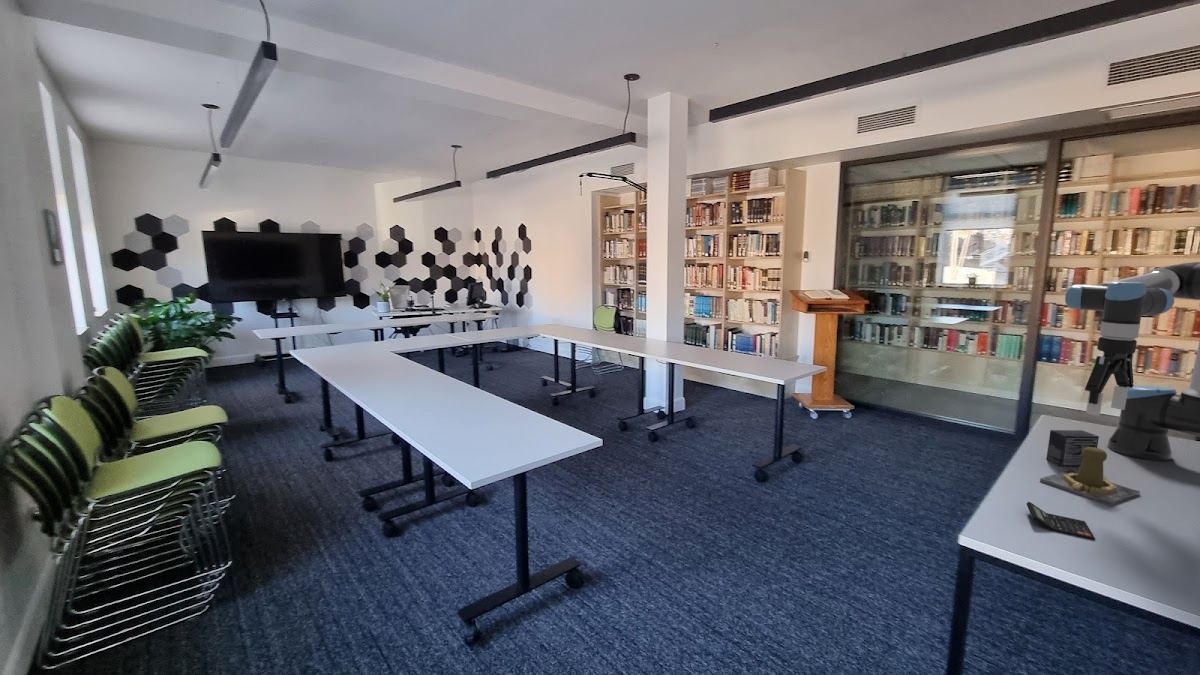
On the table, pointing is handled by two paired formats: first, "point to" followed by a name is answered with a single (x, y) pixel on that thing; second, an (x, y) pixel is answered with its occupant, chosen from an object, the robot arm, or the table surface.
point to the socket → (1090, 488)
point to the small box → (1069, 446)
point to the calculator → (1060, 523)
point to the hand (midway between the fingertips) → (1105, 411)
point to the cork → (1092, 467)
